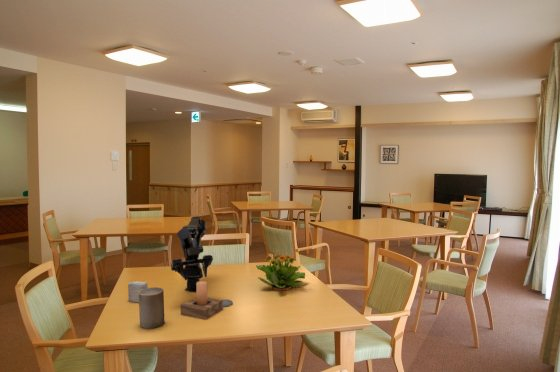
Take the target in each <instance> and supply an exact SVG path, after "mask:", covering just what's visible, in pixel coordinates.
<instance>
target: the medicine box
mask: <svg viewBox="0 0 560 372" xmlns="http://www.w3.org/2000/svg"><path fill="white" fill-rule="evenodd" d="M148 284H149V283H148V282H143V281H136V280H135V281H134V280H133V281H132V282H129V283H128V284H127V285H128V286H127V290H128V291H127V292H128V293H127V294H128V302H131V303H133V302H134V303H139V291H141V290H143V289H146V288H149V287H148V286H149V285H148Z"/></svg>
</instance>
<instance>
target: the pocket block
mask: <svg viewBox="0 0 560 372" xmlns="http://www.w3.org/2000/svg"><path fill="white" fill-rule="evenodd" d="M223 309H224V307H223V299H219V298H218V299H217V298H212V297H207V305H205V306H199V305H197V296H196V297H194V298H192V299H190V300H188V301H186V302H184V303H182V304H180V315H182V316H187V317H191V318H197V319H200V320H207V319H208V318H210V317H212V316H214V315H215V314H217V313H219V312H220V311H222V310H223Z"/></svg>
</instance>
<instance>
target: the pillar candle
mask: <svg viewBox="0 0 560 372" xmlns="http://www.w3.org/2000/svg"><path fill="white" fill-rule="evenodd" d="M164 298H165V297H164V289H163V288H162V287H148V288H146V289H143V290H141V291H139V302H138V304H139V305H138V307H139V327H141V328H143V329H148V330H149V329H156V328H159V327H162V326H163V325H165V323H166V322H165V299H164Z"/></svg>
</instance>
